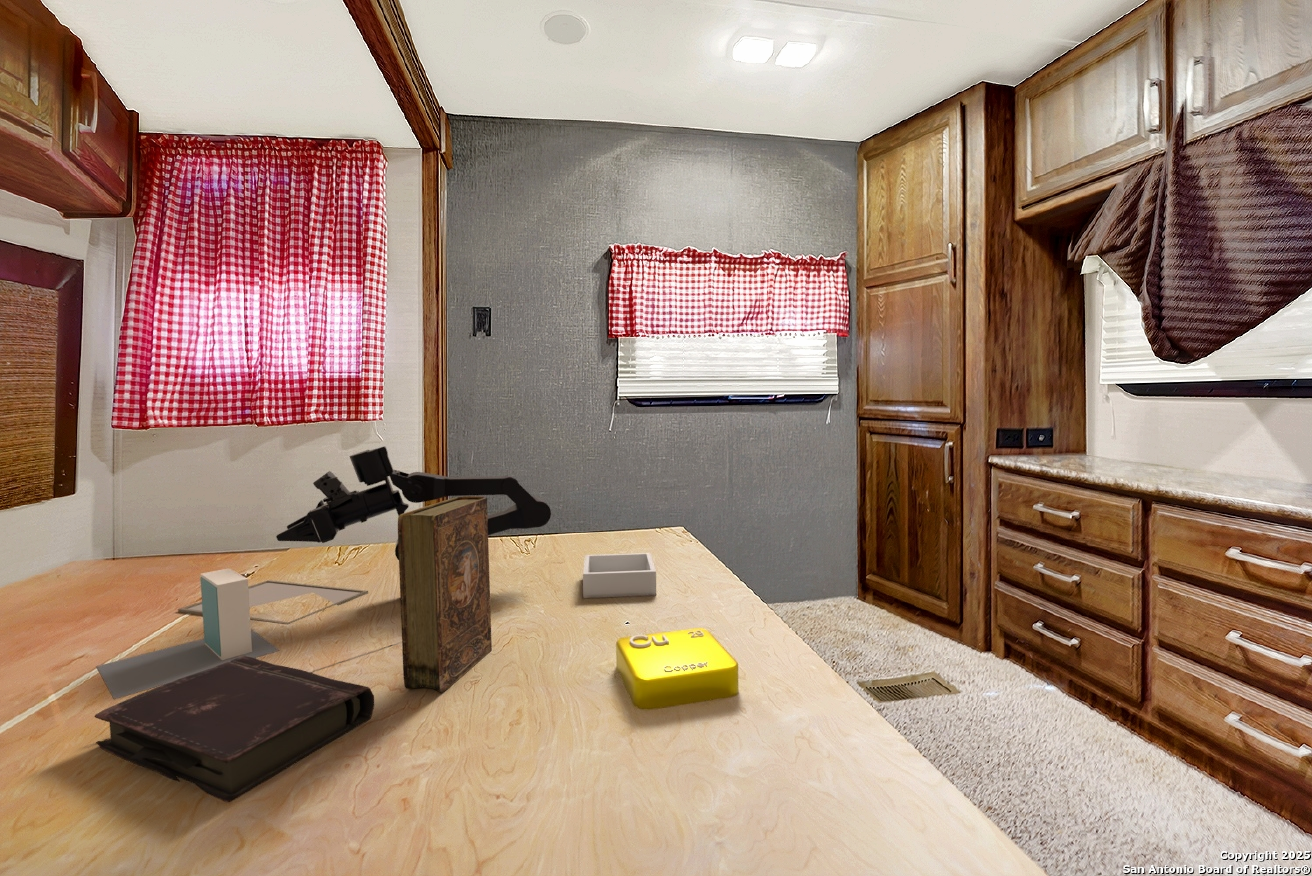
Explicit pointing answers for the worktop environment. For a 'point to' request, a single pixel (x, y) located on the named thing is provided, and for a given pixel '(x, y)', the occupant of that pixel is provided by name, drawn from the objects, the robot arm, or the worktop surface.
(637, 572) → the dish
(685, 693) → the element tile
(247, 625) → the white rectangular block
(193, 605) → the picture frame
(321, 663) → the worktop surface
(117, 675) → the mat
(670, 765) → the worktop surface
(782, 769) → the worktop surface
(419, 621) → the book
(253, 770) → the diary
